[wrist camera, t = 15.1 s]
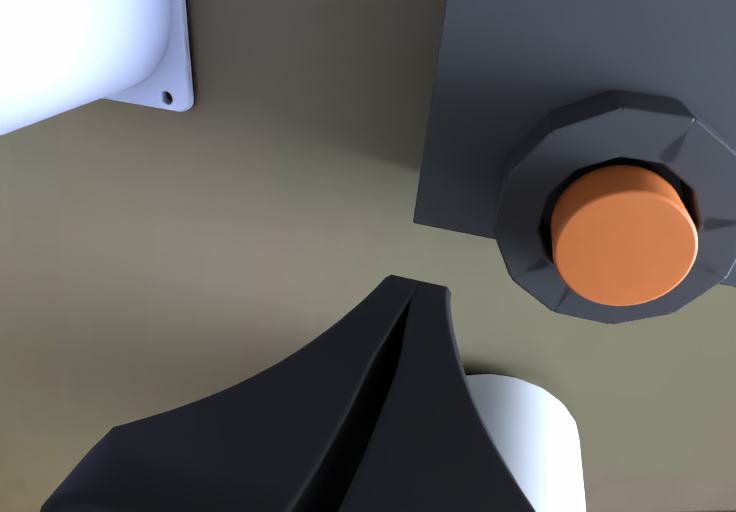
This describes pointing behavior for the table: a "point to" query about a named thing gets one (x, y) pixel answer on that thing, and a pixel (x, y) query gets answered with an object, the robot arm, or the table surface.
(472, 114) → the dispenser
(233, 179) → the table surface
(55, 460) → the table surface
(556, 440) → the can
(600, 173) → the button
